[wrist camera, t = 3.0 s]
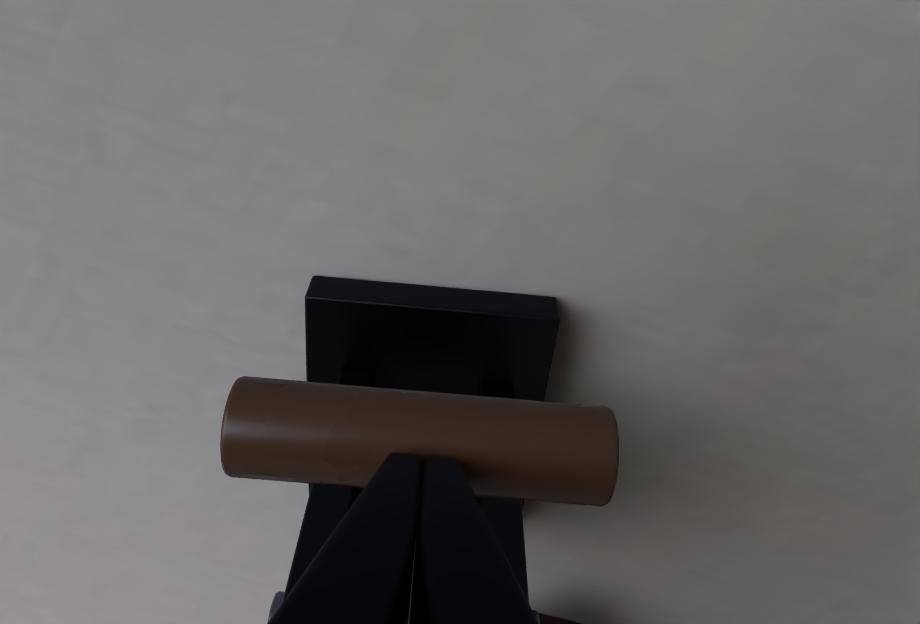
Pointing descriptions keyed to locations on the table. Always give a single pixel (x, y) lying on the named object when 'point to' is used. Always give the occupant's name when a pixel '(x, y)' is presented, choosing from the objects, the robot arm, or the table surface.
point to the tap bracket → (423, 373)
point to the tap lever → (419, 438)
